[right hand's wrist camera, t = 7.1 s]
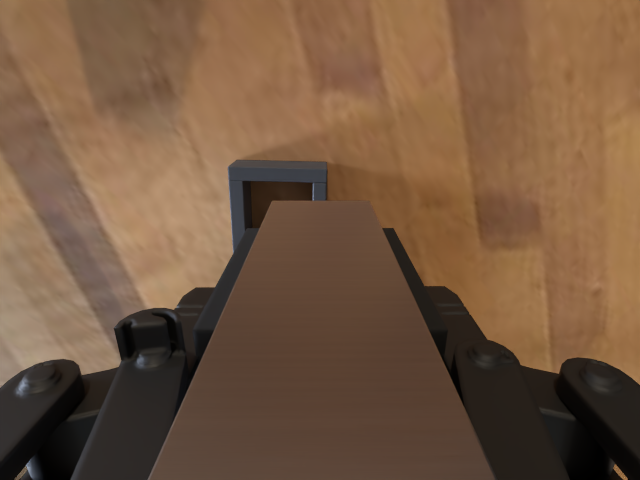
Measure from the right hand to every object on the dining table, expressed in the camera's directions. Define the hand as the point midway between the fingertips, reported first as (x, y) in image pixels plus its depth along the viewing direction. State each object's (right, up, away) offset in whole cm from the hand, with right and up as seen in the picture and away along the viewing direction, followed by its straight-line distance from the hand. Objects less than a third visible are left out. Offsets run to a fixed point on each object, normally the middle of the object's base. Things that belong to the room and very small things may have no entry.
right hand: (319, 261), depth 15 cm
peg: (0, +1, +2) cm, 2 cm away
